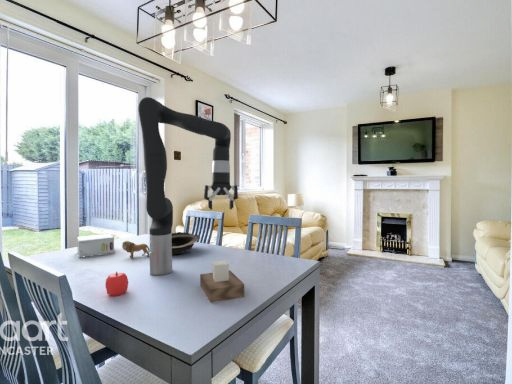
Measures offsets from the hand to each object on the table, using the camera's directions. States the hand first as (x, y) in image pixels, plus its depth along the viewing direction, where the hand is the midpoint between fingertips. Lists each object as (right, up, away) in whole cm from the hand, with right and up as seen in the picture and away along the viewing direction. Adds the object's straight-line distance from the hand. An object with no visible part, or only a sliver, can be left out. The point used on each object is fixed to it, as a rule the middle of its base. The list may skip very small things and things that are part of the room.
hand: (221, 209), depth 119 cm
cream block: (+2, -25, -17) cm, 30 cm away
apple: (-35, -30, -18) cm, 50 cm away
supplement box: (-74, -27, +36) cm, 87 cm away
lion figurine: (-48, -27, +28) cm, 62 cm away
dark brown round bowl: (-30, -27, +38) cm, 55 cm away
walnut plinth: (+2, -30, -17) cm, 34 cm away
